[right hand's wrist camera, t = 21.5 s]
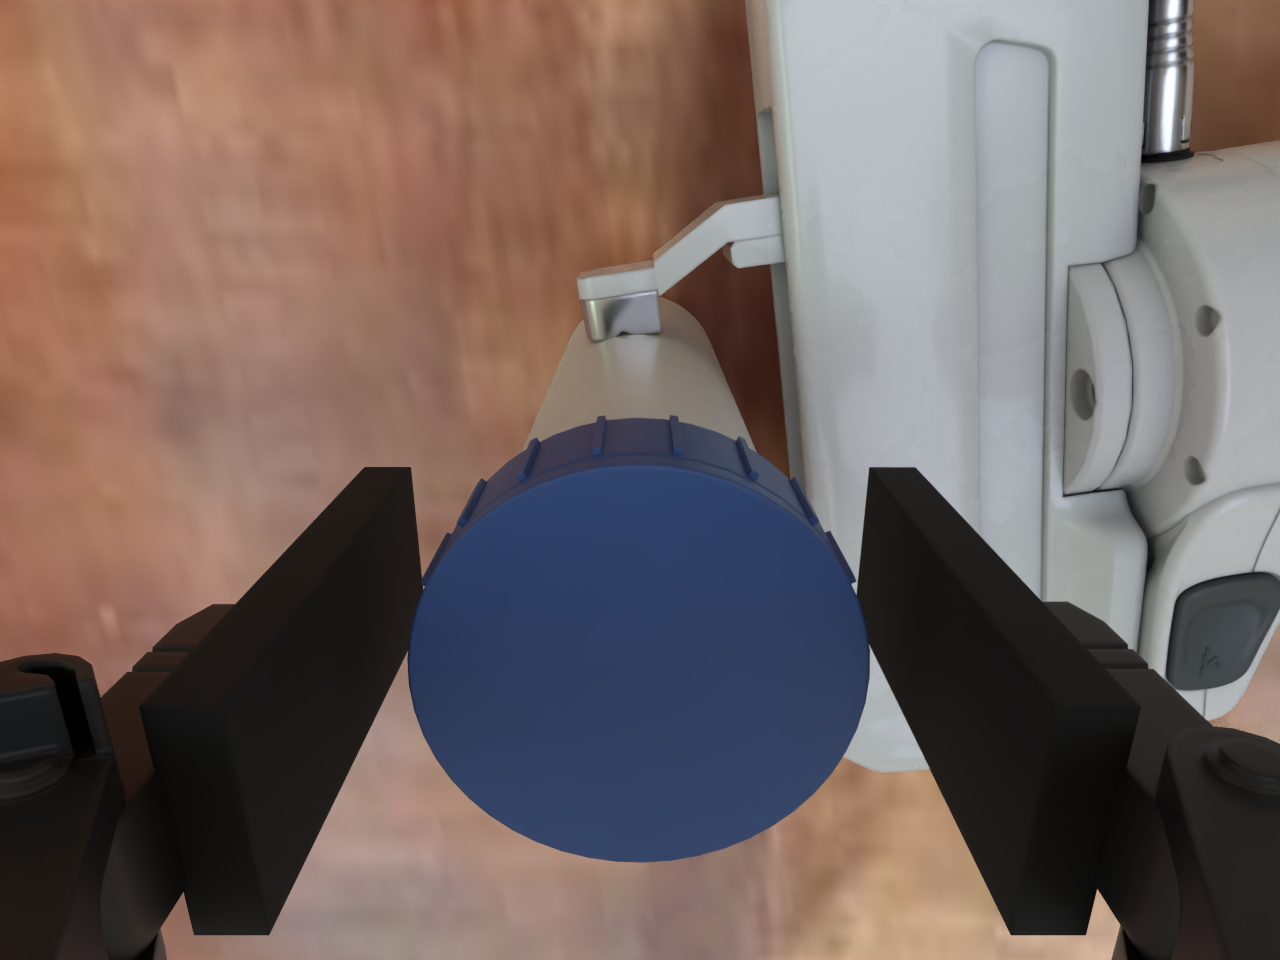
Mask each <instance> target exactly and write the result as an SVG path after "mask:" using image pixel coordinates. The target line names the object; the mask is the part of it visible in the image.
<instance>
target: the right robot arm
mask: <svg viewBox="0 0 1280 960" xmlns="http://www.w3.org/2000/svg"><path fill="white" fill-rule="evenodd" d="M421 581H422V574H421V564H420V554H419V544H418V534H417V524H416V514H415V504H414V494H413V484H412V474H411V467H364V468H363V469H362V470H361V471H360V473H359V474H358V475H357V476H356V477H355V478H354V479H353V480H352V481H351V482H350V483H349V484H348V485H347V486H346V487H345V488H344V490H343V491H342V492H341V493H340V494H339V495H338V496H337V497H336V498H335V499H334V500H333V501H332V502H331V503H330V504H329V505H328V506H327V508H326V509H325V510H324V511H323V512H322V513H321V514H320V515H319V516H318V517H317V518H316V519H315V520H314V521H313V522H312V523H311V525H310V526H309V527H308V528H307V529H306V530H305V531H304V532H303V533H302V534H301V535H300V536H299V537H298V538H297V539H296V540H295V542H294V543H293V544H292V545H291V546H290V547H289V548H288V549H287V550H286V551H285V552H284V553H283V554H282V555H281V556H280V557H279V559H278V560H277V561H276V562H275V563H274V564H273V565H272V566H271V567H270V568H269V569H268V570H267V571H266V572H265V573H264V574H263V575H262V577H261V578H260V579H259V580H258V581H257V582H256V583H255V584H254V585H253V586H252V587H251V588H250V589H249V590H248V591H247V592H246V594H245V595H244V596H243V597H242V598H241V599H240V600H239V601H238V602H237V603H236V604H213V605H211V606H209V607H207V608H205V609H203V610H202V611H200V612H198V613H196V614H194V615H192V616H191V617H189V618H187V619H185V620H183V621H182V622H180V623H178V624H176V625H175V626H174V627H173V628H172V629H171V630H170V631H169V632H168V633H167V634H166V635H165V636H164V637H163V638H162V639H161V640H160V641H159V642H158V643H157V644H156V645H155V646H154V647H153V650H152V652H147V653H146V654H145V655H144V656H143V657H142V658H141V659H140V660H139V661H138V662H137V663H136V664H135V665H134V666H133V670H132V672H127V673H126V674H125V675H124V676H123V677H122V678H121V679H120V680H119V681H118V682H116V683H115V684H114V685H113V686H112V687H111V688H110V689H109V690H108V691H107V692H106V693H105V694H104V695H103V696H102V697H101V698H100V695H99V691H98V687H97V683H96V679H95V675H94V672H93V668H92V665H91V664H90V663H88V662H87V661H85V660H84V659H82V658H81V657H79V656H73V655H65V654H57V653H52V654H41V655H30V656H23V657H19V658H15V659H11V660H6V661H2V662H0V960H167V957H166V950H165V945H164V941H163V937H162V933H161V929H160V928H161V926H162V925H163V923H164V921H165V920H166V918H167V917H168V915H169V914H170V912H171V910H172V909H173V907H174V906H175V904H176V903H177V901H178V899H179V898H180V896H181V895H182V893H183V892H184V895H185V899H186V904H187V908H188V912H189V916H190V920H191V924H192V928H193V932H194V935H269V934H270V932H271V930H272V928H273V926H274V924H275V922H276V920H277V918H278V916H279V914H280V912H281V910H282V908H283V906H284V904H285V901H286V899H287V897H288V895H289V893H290V891H291V889H292V887H293V885H294V883H295V881H296V879H297V877H298V875H299V873H300V871H301V869H302V867H303V865H304V863H305V860H306V858H307V856H308V854H309V852H310V850H311V848H312V846H313V844H314V842H315V840H316V838H317V836H318V834H319V832H320V830H321V828H322V826H323V824H324V822H325V819H326V817H327V815H328V813H329V811H330V809H331V807H332V805H333V803H334V801H335V799H336V797H337V795H338V793H339V791H340V789H341V787H342V785H343V783H344V781H345V778H346V776H347V774H348V772H349V770H350V768H351V766H352V764H353V762H354V760H355V758H356V756H357V754H358V752H359V750H360V748H361V746H362V744H363V742H364V740H365V737H366V735H367V733H368V731H369V729H370V727H371V725H372V723H373V721H374V719H375V717H376V715H377V713H378V711H379V709H380V707H381V705H382V703H383V701H384V699H385V697H386V694H387V692H388V690H389V688H390V686H391V684H392V682H393V680H394V678H395V676H396V674H397V672H398V670H399V668H400V666H401V664H402V662H403V660H404V658H405V656H406V653H407V651H408V649H409V639H410V631H411V627H412V623H413V619H414V615H415V611H416V607H417V605H418V602H419V600H420V598H421V595H422V593H423V585H421ZM857 597H858V599H859V603H860V606H861V609H862V612H863V616H864V619H865V622H866V627H867V634H868V640H869V645H870V647H871V649H872V651H873V653H874V655H875V658H876V660H877V662H878V664H879V666H880V668H881V670H882V672H883V674H884V676H885V678H886V680H887V682H888V684H889V686H890V688H891V690H892V692H893V694H894V696H895V699H896V701H897V703H898V705H899V707H900V709H901V711H902V713H903V715H904V717H905V719H906V721H907V723H908V725H909V727H910V729H911V731H912V733H913V735H914V737H915V740H916V742H917V744H918V746H919V748H920V750H921V752H922V754H923V756H924V758H925V760H926V762H927V764H928V766H929V768H930V770H931V772H932V774H933V776H934V778H935V781H936V783H937V785H938V787H939V789H940V791H941V793H942V795H943V797H944V799H945V801H946V803H947V805H948V807H949V809H950V811H951V813H952V815H953V817H954V819H955V822H956V824H957V826H958V828H959V830H960V832H961V834H962V836H963V838H964V840H965V842H966V844H967V846H968V848H969V850H970V852H971V854H972V856H973V858H974V860H975V863H976V865H977V867H978V869H979V871H980V873H981V875H982V877H983V879H984V881H985V883H986V885H987V887H988V889H989V891H990V893H991V895H992V897H993V899H994V901H995V904H996V906H997V908H998V910H999V912H1000V914H1001V916H1002V918H1003V920H1004V922H1005V924H1006V926H1007V928H1008V930H1009V932H1010V934H1011V935H1086V932H1087V928H1088V924H1089V920H1090V916H1091V912H1092V908H1093V904H1094V900H1095V895H1096V891H1097V889H1098V890H1099V892H1100V893H1101V895H1102V897H1103V898H1104V900H1105V901H1106V903H1107V904H1108V906H1109V908H1110V909H1111V911H1112V912H1113V914H1114V915H1115V917H1116V918H1117V920H1118V922H1119V923H1120V929H1119V933H1118V937H1117V941H1116V945H1115V948H1114V952H1113V956H1112V960H1280V744H1279V743H1276V742H1274V741H1272V740H1270V739H1268V738H1265V737H1262V736H1258V735H1254V734H1251V733H1247V732H1244V731H1240V730H1237V729H1232V728H1223V727H1213V726H1212V725H1211V724H1210V723H1209V722H1208V721H1207V720H1206V719H1205V718H1204V717H1203V716H1202V715H1201V714H1200V713H1199V712H1198V711H1197V710H1196V709H1195V708H1194V707H1193V706H1192V705H1191V704H1189V703H1188V702H1187V701H1186V700H1185V699H1184V698H1183V697H1182V696H1181V695H1180V694H1179V693H1178V692H1177V691H1176V690H1175V689H1174V688H1173V687H1172V686H1171V685H1170V684H1169V683H1168V682H1167V681H1166V680H1165V679H1163V678H1162V677H1161V676H1160V675H1159V674H1158V673H1157V672H1156V671H1155V670H1154V669H1149V668H1148V663H1147V662H1146V661H1145V660H1144V659H1143V658H1142V657H1141V656H1140V655H1139V654H1137V653H1136V652H1135V651H1134V650H1133V649H1128V644H1127V643H1126V642H1125V641H1124V640H1123V639H1122V638H1121V637H1120V636H1119V635H1118V634H1117V633H1116V632H1115V631H1114V630H1113V629H1112V628H1110V627H1109V626H1108V625H1107V624H1106V623H1105V622H1104V621H1103V620H1101V619H1099V618H1097V617H1095V616H1093V615H1092V614H1090V613H1088V612H1086V611H1084V610H1082V609H1081V608H1079V607H1077V606H1075V605H1073V604H1071V603H1069V602H1042V601H1041V600H1040V599H1039V598H1038V597H1037V596H1036V595H1035V594H1034V592H1033V591H1032V590H1031V589H1030V588H1029V587H1028V586H1027V585H1026V584H1025V583H1024V582H1023V581H1022V580H1021V579H1020V578H1019V577H1018V575H1017V574H1016V573H1015V572H1014V571H1013V570H1012V569H1011V568H1010V567H1009V566H1008V565H1007V564H1006V563H1005V562H1004V561H1003V560H1002V558H1001V557H1000V556H999V555H998V554H997V553H996V552H995V551H994V550H993V549H992V548H991V547H990V546H989V545H988V544H987V543H986V542H985V540H984V539H983V538H982V537H981V536H980V535H979V534H978V533H977V532H976V531H975V530H974V529H973V528H972V527H971V526H970V525H969V523H968V522H967V521H966V520H965V519H964V518H963V517H962V516H961V515H960V514H959V513H958V512H957V511H956V510H955V509H954V508H953V506H952V505H951V504H950V503H949V502H948V501H947V500H946V499H945V498H944V497H943V496H942V495H941V494H940V493H939V492H938V491H937V490H936V488H935V487H934V486H933V485H932V484H931V483H930V482H929V481H928V480H927V479H926V478H925V477H924V476H923V475H922V474H921V473H920V471H919V470H918V469H917V468H916V467H869V474H868V484H867V494H866V504H865V514H864V524H863V534H862V544H861V554H860V564H859V574H858V585H857Z"/></svg>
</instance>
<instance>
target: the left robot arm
mask: <svg viewBox="0 0 1280 960" xmlns="http://www.w3.org/2000/svg"><path fill="white" fill-rule="evenodd" d="M1194 1H1195V0H745V4H746V16H747V27H748V38H749V48H750V59H751V69H752V80H753V90H754V101H755V112H756V122H757V133H758V143H759V154H760V164H761V175H762V185H763V194H762V195H756V196H750V197H744V198H738V199H732V200H726V201H720V202H715V203H714V204H713V205H712V206H711V207H709V208H708V209H707V210H706V211H705V212H703V213H702V214H701V215H700V216H698V217H697V218H696V219H695V220H694V221H692V222H691V223H690V224H689V225H688V226H686V227H685V228H684V229H683V230H681V231H680V232H679V233H678V234H677V235H675V236H674V237H673V238H672V239H671V240H669V241H668V242H667V243H666V244H664V245H663V246H662V247H661V248H660V249H658V250H657V251H656V252H655V253H654V254H652V257H653V260H648V261H642V262H635V263H629V264H623V265H616V266H610V267H603V268H597V269H593V270H589V271H585V272H581V273H579V274H578V276H577V277H576V280H577V287H578V293H579V299H580V304H581V309H582V315H583V320H584V325H585V330H586V335H587V340H589V341H603V340H608V339H611V338H615V337H617V336H618V335H619V334H620V333H621V332H622V331H625V332H627V333H629V334H631V335H644V334H650V333H657V332H662V329H661V321H660V312H659V304H658V296H657V291H658V295H659V296H661V295H662V294H663V293H664V292H666V291H667V290H668V289H669V288H671V287H672V286H673V285H675V284H676V283H677V282H678V281H680V280H681V279H682V278H683V277H685V276H686V275H687V274H689V273H690V272H691V271H692V270H694V269H695V268H696V267H697V266H699V265H700V264H701V263H703V262H704V261H705V260H706V259H708V258H709V257H710V256H711V255H713V254H714V253H715V252H717V251H718V250H719V249H720V248H722V247H723V255H724V256H725V257H726V258H727V259H728V260H729V261H730V262H731V263H732V264H733V265H734V266H736V267H737V268H744V267H751V266H758V265H766V264H770V270H771V280H772V291H773V302H774V312H775V323H776V333H777V344H778V354H779V365H780V375H781V386H782V397H783V407H784V418H785V428H786V439H787V449H788V460H789V470H790V480H791V479H792V478H793V477H795V478H796V479H797V480H798V481H799V482H800V484H801V486H802V488H803V490H804V492H805V494H806V496H807V498H808V500H809V502H810V504H811V506H812V507H813V509H814V511H815V513H816V515H817V517H818V519H819V522H820V524H821V526H822V528H823V530H824V532H827V531H831V533H832V535H833V537H834V538H835V540H836V542H837V544H838V546H839V548H840V550H841V552H842V553H843V555H844V557H845V559H846V561H847V563H848V565H849V567H850V568H851V570H852V572H853V574H854V576H855V579H856V582H855V583H852V584H851V585H852V587H853V589H854V591H855V593H856V595H857V585H858V574H859V564H860V554H861V544H862V534H863V524H864V514H865V504H866V494H867V484H868V474H869V467H916V468H917V469H918V470H919V471H920V473H921V474H922V475H923V476H924V477H925V478H926V479H927V480H928V481H929V482H930V483H931V484H932V485H933V486H934V487H935V488H936V490H937V491H938V492H939V493H940V494H941V495H942V496H943V497H944V498H945V499H946V500H947V501H948V502H949V503H950V504H951V505H952V506H953V508H954V509H955V510H956V511H957V512H958V513H959V514H960V515H961V516H962V517H963V518H964V519H965V520H966V521H967V522H968V523H969V525H970V526H971V527H972V528H973V529H974V530H975V531H976V532H977V533H978V534H979V535H980V536H981V537H982V538H983V539H984V540H985V542H986V543H987V544H988V545H989V546H990V547H991V548H992V549H993V550H994V551H995V552H996V553H997V554H998V555H999V556H1000V557H1001V558H1002V560H1003V561H1004V562H1005V563H1006V564H1007V565H1008V566H1009V567H1010V568H1011V569H1012V570H1013V571H1014V572H1015V573H1016V574H1017V575H1018V577H1019V578H1020V579H1021V580H1022V581H1023V582H1024V583H1025V584H1026V585H1027V586H1028V587H1029V588H1030V589H1031V590H1032V591H1033V592H1034V594H1035V595H1036V596H1037V597H1038V598H1039V599H1040V600H1041V601H1042V602H1069V603H1071V604H1073V605H1075V606H1077V607H1079V608H1081V609H1082V610H1084V611H1086V612H1088V613H1090V614H1092V615H1093V616H1095V617H1097V618H1099V619H1101V620H1103V621H1104V622H1105V623H1106V624H1107V625H1108V626H1109V627H1110V628H1112V629H1113V630H1114V631H1115V632H1116V633H1117V634H1118V635H1119V636H1120V637H1121V638H1122V639H1123V640H1124V641H1125V642H1126V643H1127V644H1128V649H1133V650H1134V651H1135V652H1136V653H1137V654H1139V655H1140V656H1141V657H1142V658H1143V659H1144V660H1145V661H1146V662H1147V663H1148V668H1149V669H1154V670H1155V671H1156V672H1157V673H1158V674H1159V675H1160V676H1161V677H1162V678H1163V679H1165V680H1166V681H1167V682H1168V683H1169V684H1170V685H1171V686H1172V687H1173V688H1174V689H1175V690H1176V691H1177V692H1178V693H1179V694H1180V695H1181V696H1182V697H1183V698H1184V699H1185V700H1186V701H1187V702H1188V703H1189V704H1191V705H1192V706H1193V707H1194V708H1195V709H1196V710H1197V711H1198V712H1199V713H1200V714H1201V715H1202V716H1203V717H1204V718H1205V719H1206V720H1207V721H1209V720H1213V719H1216V718H1219V717H1221V716H1223V715H1225V714H1226V713H1228V712H1229V711H1230V710H1232V709H1233V708H1234V707H1235V706H1236V704H1237V703H1238V702H1239V700H1240V699H1241V697H1242V696H1243V694H1244V693H1245V691H1246V689H1247V687H1248V685H1249V683H1250V681H1251V679H1252V677H1253V675H1254V673H1255V671H1256V669H1257V666H1258V664H1259V662H1260V660H1261V658H1262V656H1263V654H1264V652H1265V650H1266V648H1267V646H1268V644H1269V642H1270V640H1271V638H1272V636H1273V634H1274V632H1275V630H1276V629H1277V627H1278V625H1279V623H1280V140H1276V141H1270V142H1264V143H1257V144H1251V145H1244V146H1238V147H1232V148H1225V149H1219V150H1212V151H1203V152H1196V153H1194V152H1190V140H1191V126H1192V111H1193V97H1194V62H1192V59H1193V58H1194V49H1193V48H1191V45H1193V34H1191V31H1193V20H1191V18H1192V17H1193V12H1194ZM869 647H870V645H869ZM843 757H844V758H845V759H847V760H849V761H852V762H854V763H856V764H858V765H860V766H862V767H865V768H867V769H869V770H872V771H876V772H909V771H918V770H927V769H930V768H929V766H928V764H927V762H926V760H925V758H924V756H923V754H922V752H921V750H920V748H919V746H918V744H917V742H916V740H915V737H914V735H913V733H912V731H911V729H910V727H909V725H908V723H907V721H906V719H905V717H904V715H903V713H902V711H901V709H900V707H899V705H898V703H897V701H896V699H895V696H894V694H893V692H892V690H891V688H890V686H889V684H888V682H887V680H886V678H885V676H884V674H883V672H882V670H881V668H880V666H879V664H878V662H877V660H876V658H875V655H874V653H873V651H872V649H871V647H870V679H869V685H868V691H867V697H866V703H865V706H864V709H863V712H862V716H861V719H860V722H859V725H858V728H857V730H856V732H855V734H854V736H853V739H852V741H851V743H850V745H849V747H848V749H847V751H846V753H845V754H844V756H843Z"/></svg>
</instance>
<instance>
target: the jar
mask: <svg viewBox="0 0 1280 960" xmlns="http://www.w3.org/2000/svg"><path fill="white" fill-rule="evenodd" d="M658 304H659V312H660V321H661V329H662V332H657V333H650V334H644V335H631V334H629V333H627V332H625V331H622V332H621V333H620V334H619V335H618V336H617V337H615V338H611V339H608V340H603V341H589V340H587V335H586V330H585V325H584V320H583V319H582V321H581V322H580V323H579V324H578V326H577V327H576V329H575V330H574V332H573V334H572V336H571V338H570V340H569V342H568V345H567V347H566V349H565V352H564V354H563V356H562V359H561V361H560V363H559V366H558V368H557V370H556V373H555V375H554V377H553V380H552V382H551V385H550V387H549V389H548V392H547V394H546V396H545V399H544V401H543V403H542V406H541V408H540V410H539V413H538V415H537V417H536V420H535V422H534V425H533V427H532V429H531V432H530V434H529V436H528V439H527V441H526V443H525V446H524V448H523V450H522V452H523V451H525V450H526V449H527V447H528V445H529V443H530V441H531V440H532V439H534V438H536V437H537V438H538V440H539V441H540V442H541V441H543V440H545V439H547V438H549V437H551V436H553V435H555V434H558V433H561V432H563V431H566V430H569V429H572V428H575V427H578V426H581V425H586V424H591V423H595V422H597V417H598V416H604V415H605V417H606V420H613V419H625V418H652V419H666V420H669V418H670V415H674V416H678V419H679V422H683V423H689V424H693V425H696V426H699V427H703V428H706V429H709V430H712V431H716V432H718V433H720V434H723V435H725V436H727V437H729V438H731V439H734V440H737V438H738V437H739V436H740V437H742V438H744V439H745V440H746V442H747V444H748V447H749V448H750V449H752V450H753V451H755V452H756V450H755V447H754V445H753V443H752V440H751V438H750V435H749V433H748V431H747V428H746V426H745V424H744V421H743V419H742V416H741V414H740V412H739V409H738V407H737V405H736V402H735V400H734V397H733V395H732V393H731V390H730V388H729V386H728V383H727V381H726V378H725V376H724V374H723V371H722V369H721V367H720V364H719V362H718V359H717V357H716V355H715V352H714V350H713V348H712V345H711V343H710V341H709V338H708V336H707V334H706V332H705V331H704V329H703V327H702V326H701V324H700V323H699V322H698V321H697V320H696V318H695V317H694V316H693V315H692V314H690V313H689V312H688V311H687V310H686V309H684V308H683V307H681V306H680V305H678V304H676V303H675V302H673V301H671V300H668V299H665V298H663V297H659V296H658ZM756 453H757V452H756Z"/></svg>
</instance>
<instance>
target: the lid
mask: <svg viewBox="0 0 1280 960" xmlns="http://www.w3.org/2000/svg"><path fill="white" fill-rule="evenodd" d="M855 582H856V579H855V576H854V574H853V572H852V570H851V568H850V567H849V565H848V563H847V561H846V559H845V557H844V555H843V553H842V552H841V550H840V548H839V546H838V544H837V542H836V540H835V538H834V537H833V535H832V533H831V531H827V532H824V530H823V528H822V526H821V524H820V522H819V519H818V517H817V515H816V513H815V511H814V509H813V507H812V506H811V504H810V502H809V500H808V498H807V496H806V494H805V492H804V490H803V488H802V486H801V484H800V482H799V481H798V480H797V479H796V478H795V477H793V478H792V479H791V480H789V479H788V478H787V477H786V476H785V474H783V473H782V472H781V471H780V470H779V469H777V468H776V467H775V466H774V465H773V464H771V463H770V462H769V461H768V460H767V459H765V458H764V457H763V456H761V455H760V454H758V453H756V452H755V451H753V450H752V449H750V448H749V447H748V444H747V442H746V440H745V439H744V438H742V437H740V436H739V437H738V438H737V440H734V439H731V438H729V437H727V436H725V435H723V434H720V433H718V432H716V431H712V430H709V429H706V428H703V427H699V426H696V425H693V424H689V423H683V422H679V419H678V416H674V415H670V418H669V420H666V419H652V418H625V419H613V420H606V417H605V415H604V416H598V417H597V422H595V423H591V424H586V425H581V426H578V427H575V428H572V429H569V430H566V431H563V432H561V433H558V434H555V435H553V436H551V437H549V438H547V439H545V440H543V441H541V442H540V441H539V440H538V438H537V437H536V438H534V439H532V440H531V441H530V443H529V445H528V447H527V449H526V450H525V451H523V452H522V453H520V454H519V455H517V456H516V457H514V458H513V459H511V460H510V461H509V462H507V463H506V464H505V465H504V466H503V467H502V468H501V469H500V470H498V471H497V472H496V473H495V474H494V475H493V476H492V477H491V478H490V479H489V480H488V481H487V482H486V481H485V480H483V479H481V480H480V481H479V482H478V483H477V485H476V487H475V489H474V491H473V493H472V495H471V496H470V498H469V500H468V502H467V504H466V506H465V508H464V510H463V512H462V514H461V515H460V517H459V519H458V521H457V526H456V528H455V529H454V531H453V533H452V534H450V533H447V534H446V535H445V537H444V539H443V541H442V543H441V545H440V547H439V548H438V550H437V552H436V554H435V556H434V558H433V559H432V561H431V563H430V565H429V567H428V569H427V571H426V572H425V574H424V576H423V578H422V581H421V585H424V586H425V588H424V591H423V593H422V595H421V598H420V600H419V602H418V605H417V607H416V611H415V615H414V619H413V623H412V627H411V631H410V639H409V649H408V676H409V687H410V692H411V697H412V701H413V706H414V711H415V714H416V716H417V719H418V722H419V724H420V727H421V730H422V733H423V735H424V737H425V739H426V741H427V743H428V745H429V747H430V748H431V750H432V752H433V754H434V756H435V758H436V759H437V761H438V762H439V763H440V765H441V766H442V768H443V769H444V770H445V772H446V773H447V774H448V776H449V777H450V779H451V780H452V781H453V782H454V783H455V784H456V785H457V786H458V787H459V788H460V789H461V790H462V791H463V792H464V794H465V795H466V796H467V797H468V798H469V799H470V800H472V801H473V802H474V803H475V804H476V805H478V806H479V807H480V808H481V809H483V810H484V811H485V812H486V813H487V814H489V815H490V816H491V817H493V818H495V819H496V820H498V821H499V822H501V823H502V824H504V825H505V826H507V827H509V828H510V829H512V830H514V831H516V832H518V833H520V834H522V835H524V836H526V837H528V838H530V839H532V840H534V841H536V842H538V843H541V844H544V845H547V846H549V847H552V848H555V849H558V850H560V851H564V852H568V853H572V854H576V855H580V856H584V857H588V858H595V859H602V860H609V861H617V862H657V861H671V860H677V859H683V858H689V857H694V856H699V855H703V854H706V853H710V852H713V851H717V850H721V849H724V848H727V847H729V846H731V845H734V844H736V843H739V842H741V841H744V840H746V839H749V838H751V837H753V836H755V835H756V834H758V833H760V832H762V831H764V830H766V829H768V828H769V827H771V826H773V825H775V824H776V823H777V822H779V821H780V820H782V819H783V818H785V817H786V816H788V815H789V814H790V813H792V812H793V811H795V810H796V809H797V808H798V807H799V806H800V805H801V804H803V803H804V802H805V801H806V800H807V799H808V798H809V797H811V796H812V795H813V794H814V793H815V792H816V791H817V790H818V788H819V787H820V786H821V785H822V784H823V783H824V782H825V780H826V779H827V778H828V777H829V776H830V775H831V774H832V772H833V771H834V769H835V768H836V766H837V765H838V763H839V762H840V760H841V759H842V757H843V756H844V754H845V753H846V751H847V749H848V747H849V745H850V743H851V741H852V739H853V736H854V734H855V732H856V730H857V728H858V725H859V722H860V719H861V716H862V712H863V709H864V706H865V703H866V697H867V691H868V685H869V679H870V647H869V640H868V634H867V627H866V622H865V619H864V616H863V612H862V609H861V606H860V603H859V599H858V597H857V595H856V593H855V591H854V589H853V587H852V585H851V584H852V583H855Z"/></svg>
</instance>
